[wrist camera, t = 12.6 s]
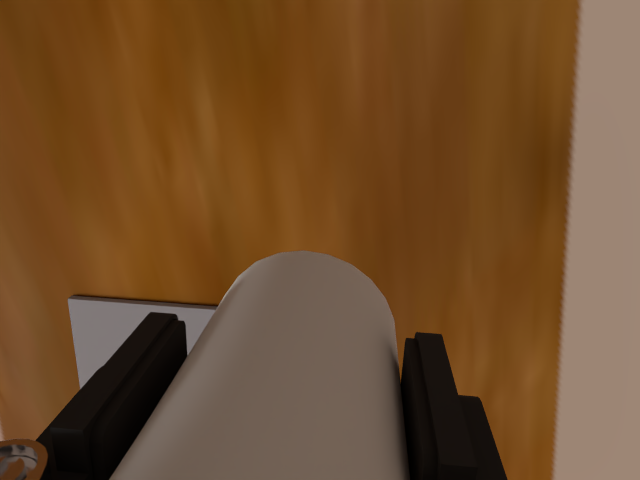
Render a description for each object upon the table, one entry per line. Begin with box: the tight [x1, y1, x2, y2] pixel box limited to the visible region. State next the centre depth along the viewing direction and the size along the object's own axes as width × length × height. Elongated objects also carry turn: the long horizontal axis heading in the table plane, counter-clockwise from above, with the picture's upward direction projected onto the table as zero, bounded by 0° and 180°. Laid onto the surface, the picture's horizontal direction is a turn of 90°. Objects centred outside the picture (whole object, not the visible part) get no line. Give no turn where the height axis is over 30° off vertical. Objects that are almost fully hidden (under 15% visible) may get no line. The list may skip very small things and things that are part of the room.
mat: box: [68, 296, 217, 389], centre depth 31 cm, size 20×16×1 cm
